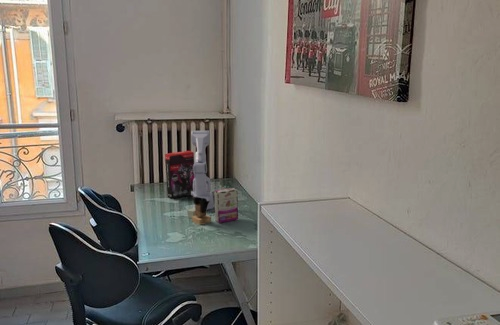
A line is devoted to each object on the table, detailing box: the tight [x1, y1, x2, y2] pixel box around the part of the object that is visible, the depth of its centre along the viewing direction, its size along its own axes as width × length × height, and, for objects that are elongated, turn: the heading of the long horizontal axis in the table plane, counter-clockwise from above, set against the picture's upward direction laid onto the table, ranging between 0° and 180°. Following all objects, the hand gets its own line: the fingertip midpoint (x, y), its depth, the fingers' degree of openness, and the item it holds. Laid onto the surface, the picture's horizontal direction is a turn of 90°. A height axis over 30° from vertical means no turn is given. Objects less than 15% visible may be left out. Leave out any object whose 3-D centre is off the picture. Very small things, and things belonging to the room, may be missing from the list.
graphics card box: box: [164, 150, 195, 200], centre depth 265 cm, size 17×7×27 cm, turn 129°
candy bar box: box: [213, 187, 239, 224], centre depth 222 cm, size 11×5×16 cm, turn 118°
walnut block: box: [194, 204, 207, 217], centre depth 221 cm, size 4×4×6 cm
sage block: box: [187, 207, 196, 219], centre depth 229 cm, size 4×4×4 cm
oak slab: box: [191, 214, 212, 226], centre depth 222 cm, size 7×7×3 cm
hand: (201, 211), depth 221 cm, fingers closed on walnut block, 4 cm apart
